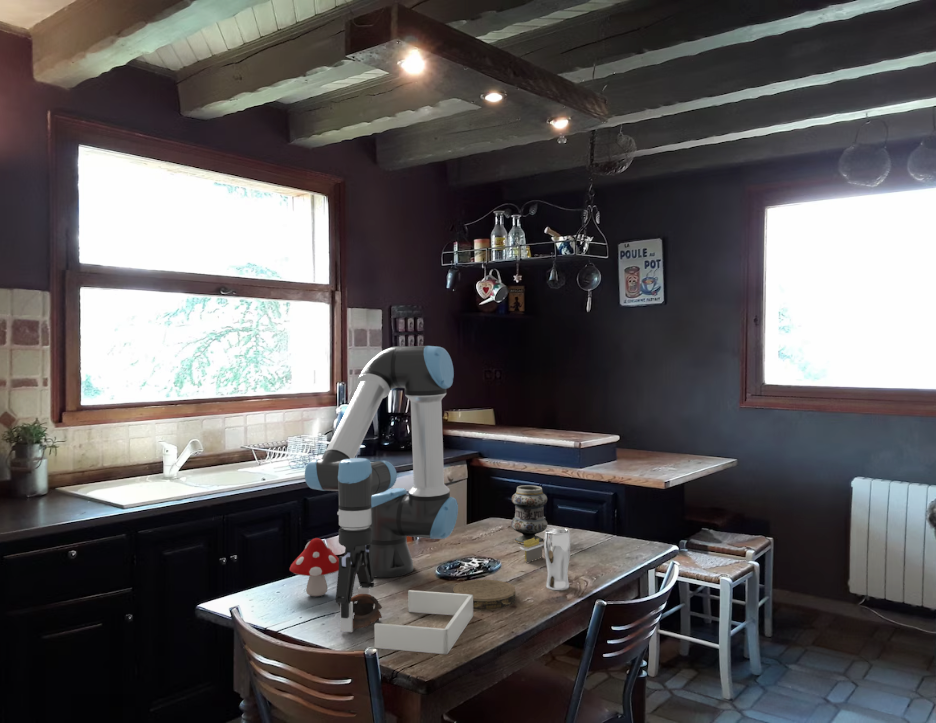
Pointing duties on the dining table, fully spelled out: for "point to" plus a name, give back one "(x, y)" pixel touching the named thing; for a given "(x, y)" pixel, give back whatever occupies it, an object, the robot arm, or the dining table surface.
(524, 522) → the apothecary jar
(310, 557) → the decorative mushroom
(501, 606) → the wood slice
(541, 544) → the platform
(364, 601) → the pottery mug
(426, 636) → the bin
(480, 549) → the dining table surface
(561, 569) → the beer glass
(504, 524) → the dining table surface
